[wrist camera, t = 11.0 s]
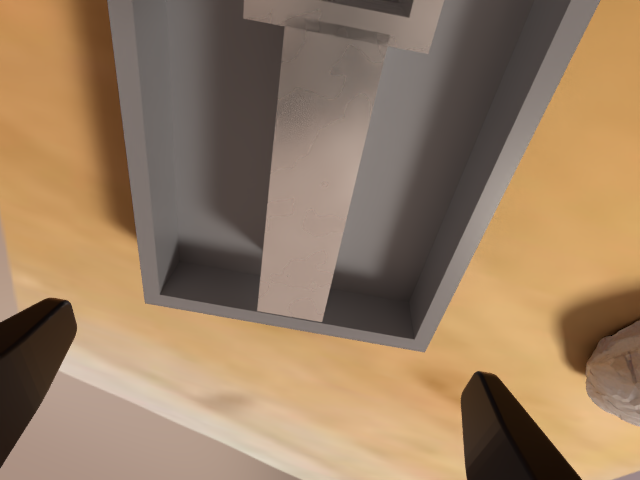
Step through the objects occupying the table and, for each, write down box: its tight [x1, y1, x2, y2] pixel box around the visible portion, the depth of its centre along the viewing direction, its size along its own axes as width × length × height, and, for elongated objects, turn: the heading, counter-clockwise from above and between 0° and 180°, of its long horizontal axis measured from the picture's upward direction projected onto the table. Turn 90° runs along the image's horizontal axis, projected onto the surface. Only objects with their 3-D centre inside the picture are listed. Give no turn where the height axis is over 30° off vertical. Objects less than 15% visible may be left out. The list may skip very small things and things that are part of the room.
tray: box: [107, 0, 600, 352], centre depth 16 cm, size 22×15×4 cm
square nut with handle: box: [243, 0, 444, 322], centre depth 15 cm, size 17×5×4 cm, turn 171°
